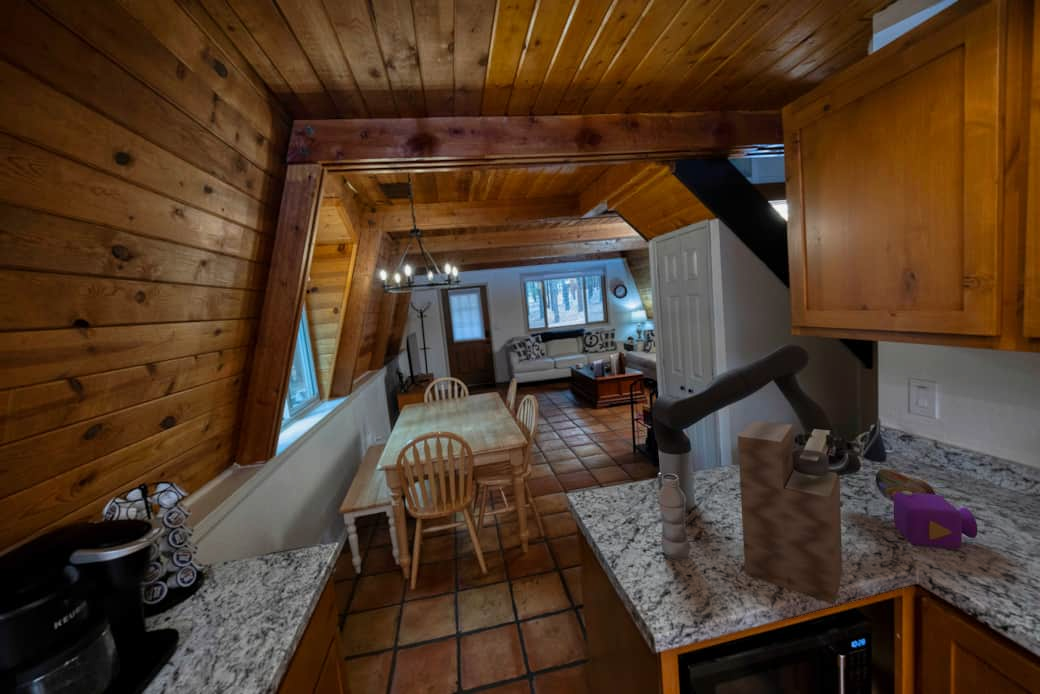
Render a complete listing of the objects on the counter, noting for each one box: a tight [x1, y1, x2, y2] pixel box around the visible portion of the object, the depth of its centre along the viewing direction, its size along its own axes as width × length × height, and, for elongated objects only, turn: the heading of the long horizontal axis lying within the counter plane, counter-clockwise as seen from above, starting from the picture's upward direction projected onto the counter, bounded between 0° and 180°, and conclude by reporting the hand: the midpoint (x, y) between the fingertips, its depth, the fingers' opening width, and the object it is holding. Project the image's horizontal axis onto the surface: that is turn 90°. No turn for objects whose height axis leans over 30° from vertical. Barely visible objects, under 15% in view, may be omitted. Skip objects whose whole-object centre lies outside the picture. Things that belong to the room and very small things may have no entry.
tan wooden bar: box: [792, 429, 830, 476], centre depth 88 cm, size 6×20×3 cm, turn 137°
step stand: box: [737, 419, 843, 606], centre depth 88 cm, size 16×12×32 cm
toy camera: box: [893, 491, 978, 550], centre depth 95 cm, size 11×14×10 cm
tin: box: [875, 468, 937, 502], centre depth 110 cm, size 15×3×8 cm, turn 1°
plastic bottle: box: [657, 474, 691, 561], centre depth 99 cm, size 6×7×20 cm
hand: (818, 438), depth 91 cm, fingers closed on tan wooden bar, 3 cm apart
